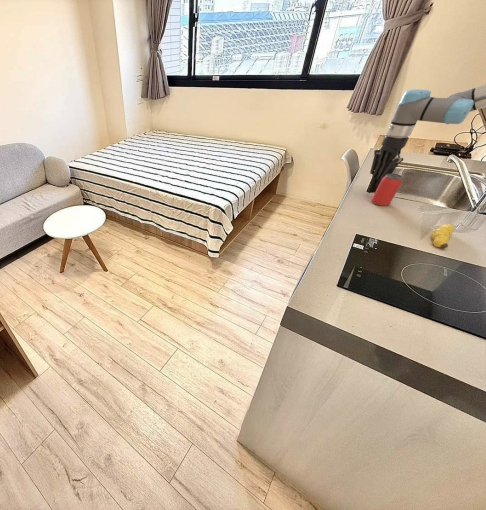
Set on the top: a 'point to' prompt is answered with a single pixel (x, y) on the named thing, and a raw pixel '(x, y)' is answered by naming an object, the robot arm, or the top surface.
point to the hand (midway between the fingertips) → (371, 192)
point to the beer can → (387, 189)
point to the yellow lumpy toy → (442, 235)
